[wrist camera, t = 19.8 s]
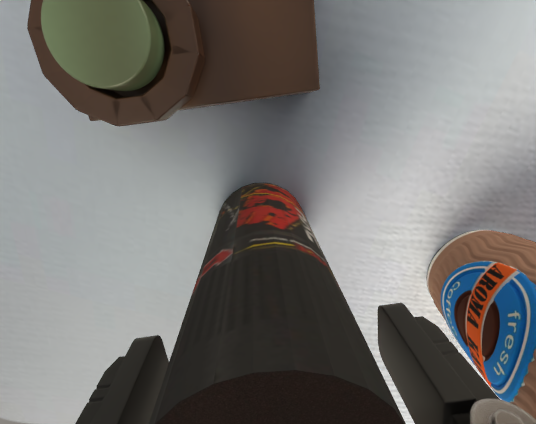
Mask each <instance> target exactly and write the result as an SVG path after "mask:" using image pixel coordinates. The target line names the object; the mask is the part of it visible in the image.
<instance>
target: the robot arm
mask: <svg viewBox="0 0 536 424" xmlns="http://www.w3.org/2000/svg"><path fill="white" fill-rule="evenodd" d="M378 345H379V350H380V354H381V357H382V360H383V362H384V364H385V366H386V368H387V370H388V372H389V374H390V376H391V378H392V380H393V382H394V384H395V386H396V388H397V389H398V391H399V393H400V395H401V397H402V399H403V401H404V403H405V405H406V407H407V409H408V411H409V413H410V415H411V417H412V419H413V421H414V423H415V424H536V419H535V418H533V417H532V416H531V415H530V414H529V413H527V412H526V411H524V410H523V409H521V408H519V407H518V406H516V405H514V404H511V403H509V402H506V401H503V400H500V399H499V398H498V397H497V396H496V395H495V393H494V392H493V391H492V390H491V389H490V387H489V386H488V385H487V384H486V383H485V382H484V380H483V379H482V378H481V377H480V376H479V375H478V373H477V372H476V371H475V370H474V369H473V367H472V366H471V365H470V364H469V363H468V362H467V360H466V359H465V358H464V357H463V356H462V354H461V353H458V350H457V349H456V347H455V346H454V345H453V344H452V343H451V342H449V339H448V338H447V337H446V336H445V334H444V333H443V332H442V331H441V330H440V329H439V327H438V326H436V325H435V324H433V323H432V322H430V321H429V320H427V319H425V318H424V317H422V316H421V317H413V315H412V314H411V313H410V312H409V310H408V309H407V308H406V306H405V305H404V304H403V303H396V304H389V305H381V306H379V307H378ZM168 365H169V361H168V358H167V355H166V352H165V348H164V345H163V342H162V339H161V337H160V336H158V335H157V336H150V337H143V338H136V339H135V340H134V341H133V342H132V344H131V346H130V348H129V350H128V352H127V354H126V356H124V357H119V358H118V359H117V360H116V361H115V362H114V363H113V364H112V365H111V366H110V367H109V368H108V369H107V370H106V371H105V373H104V374H103V376H102V378H101V380H100V381H99V383H98V385H97V389H95V390H94V392H93V394H92V395H91V397H90V399H89V403H87V404H86V406H85V408H84V410H83V411H82V413H81V415H80V417H79V418H78V420H77V422H76V424H149V421H150V418H151V415H152V412H153V409H154V406H155V403H156V400H157V398H158V395H159V392H160V389H161V386H162V383H163V380H164V377H165V374H166V371H167V368H168Z"/></svg>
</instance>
